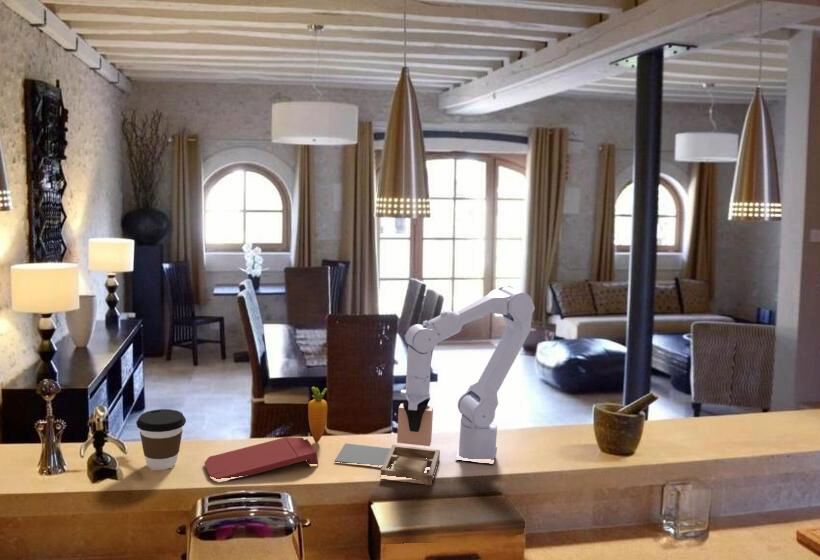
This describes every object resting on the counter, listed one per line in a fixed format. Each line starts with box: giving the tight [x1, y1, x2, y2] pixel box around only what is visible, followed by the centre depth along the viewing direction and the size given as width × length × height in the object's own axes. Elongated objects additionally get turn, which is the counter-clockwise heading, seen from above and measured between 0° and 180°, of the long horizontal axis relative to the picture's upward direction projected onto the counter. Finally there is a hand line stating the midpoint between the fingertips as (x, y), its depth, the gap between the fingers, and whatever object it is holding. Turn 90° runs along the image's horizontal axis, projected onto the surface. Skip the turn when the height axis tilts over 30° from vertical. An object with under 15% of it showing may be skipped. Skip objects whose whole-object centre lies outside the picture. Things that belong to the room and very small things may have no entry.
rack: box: [380, 444, 441, 487], centre depth 188 cm, size 12×15×2 cm
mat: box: [334, 442, 391, 466], centre depth 193 cm, size 12×11×1 cm
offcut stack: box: [390, 457, 427, 473], centre depth 184 cm, size 8×5×4 cm, turn 76°
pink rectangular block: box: [396, 403, 434, 447], centre depth 190 cm, size 8×3×9 cm, turn 81°
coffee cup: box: [135, 408, 187, 471], centre depth 182 cm, size 11×11×12 cm
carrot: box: [307, 386, 328, 443], centre depth 199 cm, size 5×5×15 cm
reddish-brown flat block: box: [204, 436, 319, 479], centre depth 185 cm, size 12×5×25 cm
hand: (415, 428), depth 190 cm, fingers closed on pink rectangular block, 3 cm apart
